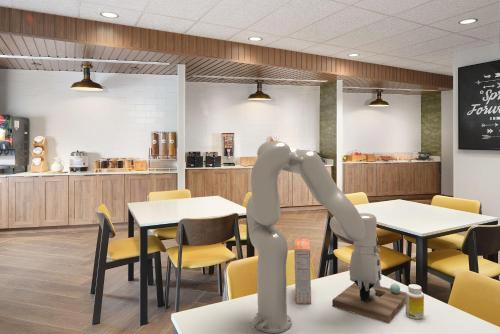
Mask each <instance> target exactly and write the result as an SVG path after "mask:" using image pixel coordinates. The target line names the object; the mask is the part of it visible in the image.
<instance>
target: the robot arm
mask: <svg viewBox="0 0 500 334" xmlns="http://www.w3.org/2000/svg"><path fill="white" fill-rule="evenodd" d="M256 155H257V159H256V160H255V163H254V164H253V167H252V169H251V174H250V188H251V189H250V190H251V196H249V198H248V200H247V202H246V206H245V212H246V222H247V231H248V236H249V240H250V243H251V246H253V247H254V249H255V250H256V251H257V254H258V255H257V258H258V259H257V263H256V264H257V266H256V283H257V285H256V286H257V287H256V288H257V289H256V290H257V291H256V292H257V313H256V315H255V316H254V318H253V319H252V320H251V321H250V322H249V323H248V325H249V327H250V328H251V329H254V328H256V329H257V330H258V331H261V332H262V333H263V332H264V333H267V334H278V333H282V332H285V331H287V330H289V329H290V328H291V327H292V324H293V323H292V322H293V321H292V318H291V317H290V316H289V315H288V310H287V308H288V306H287V260H288V259H287V258H288V252H289V251H288V250H289V244H288V240H287V238H286V237H285V236H284V233H282V232H281V231H280V230H278V229H277V228H276V226H275V225H276V224H277V223H278V222H279V220H280V219H281V213H282V210H281V204H280V203H281V201H280V195H279V189H278V186H279V185H278V180H279V178H278V177H279V175H280V173H281V171H285V172H289V173H294V174H298V175H300V177H301V179H302V180H303V182H304V183H305V185H306V187H307V188H308V190H309V192H310V193H311V195H312V197H313V199H314V200H315V201H316V202H318V203H319V205H320V206H322V207H324V209H326V210H327V211H328V212H330V214H331V215H332V217H331V218H330V221H329V226H330V230H331V231H333V232H334V234H336V235H339V236H340V237H342V238H345V239H347V240H348V241H351V242H353V250H352V252H351V256H350V261H349V281H351V282H353V283H356V284H357V286H358V288H359V289H360V297H361V301H364V302H366V301H367V300H368V299H369V298H370V289H371V288H372V287H380V286H382V285H381V280H382V266H381V258H380V254H379V253H380V252H381V248H379V247H378V245H377V217H376V215H374V214H372V213H365V212H361V213H360V212H359V210H358V209H357V208H356V207H355V205H354V203H352V201H351V200H350V199H349V198H348V197H347V196H346V195H345V193H344V192H343V191H342V190H341V188H339V187H338V184H336V182H335V180H334V178H333V177H332V175H331V174H330V172H329V170H328V169H327V167H326V165H325V163H324V162H323V159H322V158H321V157H320V155H319V154H318V153H317V152H316V151H314V150H311V149H299V148H293V147H290V145H288V144H287V143H285V142H283V141H280V140H279V141H277V140H275V141H274V140H273V141H265V142H264V143H261V145H259V147H258V149H257V151H256ZM364 282H366V285H365V284H364Z"/></svg>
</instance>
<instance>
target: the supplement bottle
mask: <svg viewBox="0 0 500 334" xmlns="http://www.w3.org/2000/svg"><path fill="white" fill-rule="evenodd" d="M405 292H406V303H405V315H406V316H407V317H409V318H410V319H415V320H421V319H423V318H424V315H425V314H424V312H425V310H424V309H425V308H424V307H425V306H424V305H425V304H424V302H425V296H424V295H425V294H424V293H423V291H422V286H421V285H418V284H413V283H411V284H408V289H407V290H406V291H405Z"/></svg>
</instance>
